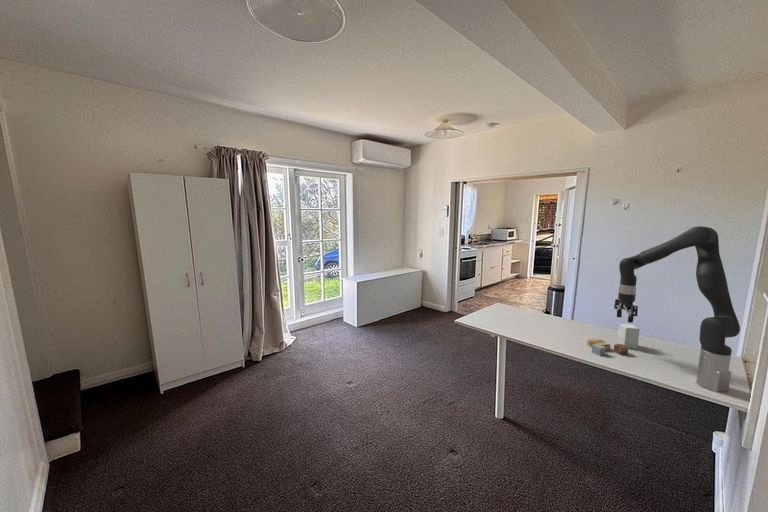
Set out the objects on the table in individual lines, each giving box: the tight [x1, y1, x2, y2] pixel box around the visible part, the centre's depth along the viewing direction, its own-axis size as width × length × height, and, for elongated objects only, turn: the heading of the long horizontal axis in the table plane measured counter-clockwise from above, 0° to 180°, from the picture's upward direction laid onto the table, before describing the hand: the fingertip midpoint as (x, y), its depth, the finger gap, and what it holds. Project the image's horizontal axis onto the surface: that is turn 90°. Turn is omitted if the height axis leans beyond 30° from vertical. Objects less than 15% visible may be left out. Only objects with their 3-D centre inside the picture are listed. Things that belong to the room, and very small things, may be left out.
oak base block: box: [586, 338, 611, 351], centre depth 178 cm, size 8×8×4 cm
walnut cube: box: [613, 343, 629, 356], centre depth 170 cm, size 4×4×4 cm
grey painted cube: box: [591, 344, 606, 357], centre depth 170 cm, size 4×4×4 cm
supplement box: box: [616, 323, 640, 350], centre depth 179 cm, size 7×7×13 cm
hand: (624, 319), depth 169 cm, fingers open, 8 cm apart
